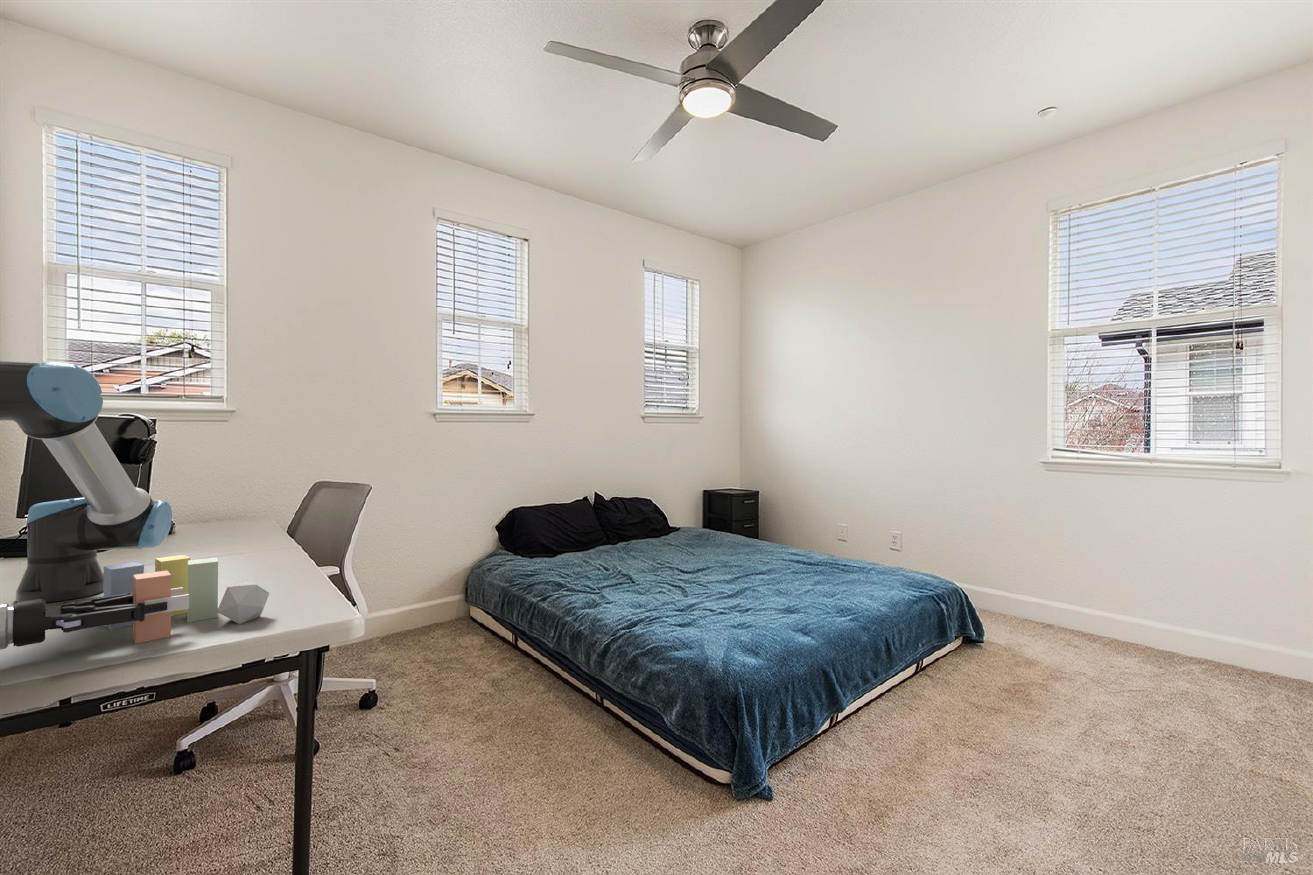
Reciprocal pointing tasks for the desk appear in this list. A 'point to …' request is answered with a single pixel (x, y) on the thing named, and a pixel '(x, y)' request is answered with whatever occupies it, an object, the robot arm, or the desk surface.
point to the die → (243, 602)
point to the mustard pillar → (175, 573)
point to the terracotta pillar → (149, 589)
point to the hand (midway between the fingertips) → (185, 597)
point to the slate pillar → (120, 582)
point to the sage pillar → (202, 589)
